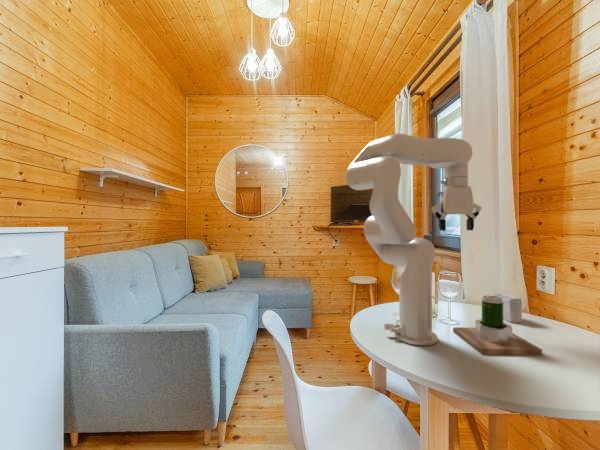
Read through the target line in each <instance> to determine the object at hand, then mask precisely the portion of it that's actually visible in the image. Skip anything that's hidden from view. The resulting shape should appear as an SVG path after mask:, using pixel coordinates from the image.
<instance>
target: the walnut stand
mask: <svg viewBox="0 0 600 450" xmlns="http://www.w3.org/2000/svg"><path fill="white" fill-rule="evenodd" d="M452 329H453V330H452V331H453V334H455V335H457V337H459V338H461V339H462V340H463V341H464V342H465V343H467V345H469V346H470V347H472V348H473V349H474V350H476V351H477V352H478V353H479V354H481V355H503V356H504V355H505V356H507V355H508V356H509V355H510V356H512V355H513V356H522V355H523V356H542V355H543V349H541V348H540V347H539V346H536V345H535V344H533V343H532V342H530V341H527V340H526V339H524V338H522V337H520V336H519V335H517V334H515V333H513V332H512V342H511V343H508V344H498V343H492V342H488V341H485V340H482V339H480V338H478V337H477V336H476V327H461V326H460V327H453V328H452Z"/></svg>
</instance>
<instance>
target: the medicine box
mask: <svg viewBox="0 0 600 450" xmlns="http://www.w3.org/2000/svg"><path fill="white" fill-rule="evenodd" d="M494 296H496V297H500V298H502V301H503V321H506V322H509V323H511V324H512V323H515V324H516V323H517V324H518V323H522V322H523V318H522V316H523V313H522V312H523V311H522V298H520V297H517V296H513V295H510V294H509V293H495V294H494Z"/></svg>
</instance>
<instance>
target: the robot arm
mask: <svg viewBox="0 0 600 450" xmlns="http://www.w3.org/2000/svg"><path fill="white" fill-rule="evenodd" d="M472 157H473V147H472V146H471V144H470V143H469V142H468V141H466V140H464V139H461V138H456V137H441V138H438V137H437V138H436V137H435V138H434V137H433V138H432V137H429V138H428V137H427V138H423V137H418V136H415V135H410V134H404V133H394V134H393V133H392V134H390V135H386V136H382V137H379V138H377V139H376V138H375V139H373V140H372V141H370V142H369V143H368V144H367V145H366V146H365V147H364V148H363V149H362V150H360V152H359V153H358V154H357V156H355V158H354V160H352V162H351V163H350V164H349V165H348V167H347V169H346V171H345V172H346V173H345V181H346V183H347V185H348V187H349V188H351V189H353V190H355V191H364V190H366V191H367V190H372V193H371V197H370V201H369V212H370V214H371V215H369V217H367V218H366V219H365V222H364V223H363V233H364V237H365V239H366V241H367V243H368V244H369V245H370V247H371V248H372V249H373V251H374V252H375V253H376V254H377V256H378V257H379V258H380V259H381V261H382V262H384V263H386V264H388V265H390V266H391V265H394V266H399V267H404V270H403V272H402V274H401V275H400V277H399V281H398V285H399V286H398V288H399V289H398V290H399V291H398V292H399V293H398V296H399V301H398V302H399V303H398V305H399V307H398V308H399V309H398V310H399V319H396V322H394V323H384V324H383V329H384V331H390V333H394V337H395V338H396V339H397V340H398V341H401V342H403V343H405V344H408V345H414V346H432V345H435V344H436V343H437V342H438V335H437V334H436V333H435V332H433V303H432V302H433V301H432V300H433V298H432V297H433V294H432V293H433V292H432V291H433V289H432V284H433V282H432V281H433V268H434V263H435V259H436V248H435V246H434V243H432V242H431V241H430V240H428V239H427V238H423V237H416V234H417V231H416V227H415V225H414V223H413V221H412V220H411V218H410V216H409V215H408V213H407V212H406V210H405V208H404V207H403V206H402V203H401V202H400V199H399V185H400V180H401V176H402V175H401V174H402V169H401V164H403V165H411V166H416V167H417V166H429V168H432V169H435V170H439V169H444V170H443V171H444V173H443V174H444V175H443V180H440V185H443V187H442V189H441V193H440V194H441V195H440V201H439V203H438V204H436V205H433V206H432V207H430V210H431V212H432V214H433V215H434V217H436V218H437V220H438V228H439V231H444V232H445V231H446V229H447V228H446V219H445V218H446V217H447V216H448V215H465V217H466V218H467V219H466V231H474V227H475V219H476V218H477V217H478V216H479V214H480V212H481V210H482V206H480V205H478V204H477V203H474V198H473V197H474V196H473V191H472V187H471V186H470V185H469V166H468V165H469V161H471V160H472ZM438 209H439V210H440V211H439V212H438Z"/></svg>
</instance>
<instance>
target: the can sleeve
mask: <svg viewBox="0 0 600 450" xmlns="http://www.w3.org/2000/svg"><path fill="white" fill-rule="evenodd" d="M475 328H476V336H477V337H478V338H480V339H482V340H485V341H488V342H492V343H498V344H508V343H511V342H512V333H513V327H512V325H511V324H509V323H507V322H504V321H503V328H493V327H488V326H485V325H483V324H482V318H480V319H476V320H475Z"/></svg>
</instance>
